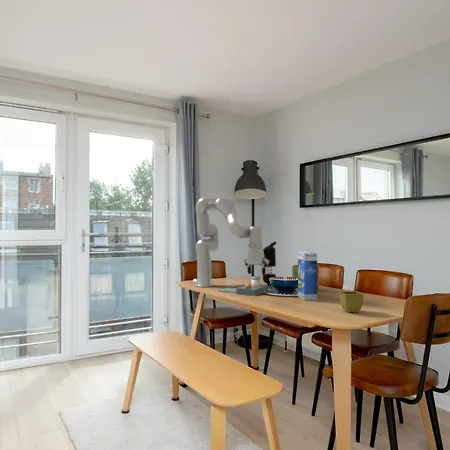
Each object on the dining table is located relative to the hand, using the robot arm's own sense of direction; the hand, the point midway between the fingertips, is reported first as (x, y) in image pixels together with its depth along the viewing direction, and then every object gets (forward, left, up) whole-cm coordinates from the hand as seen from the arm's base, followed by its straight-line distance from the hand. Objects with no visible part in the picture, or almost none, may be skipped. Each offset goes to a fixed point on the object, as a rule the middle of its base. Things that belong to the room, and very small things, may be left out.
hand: (256, 274), depth 236 cm
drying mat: (-16, -4, -11) cm, 20 cm away
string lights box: (+34, -5, -11) cm, 37 cm away
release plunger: (-1, -9, -10) cm, 14 cm away
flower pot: (+63, -27, -11) cm, 70 cm away
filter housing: (-1, -4, -11) cm, 12 cm away
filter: (-4, +24, -11) cm, 26 cm away
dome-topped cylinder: (-1, 0, -11) cm, 11 cm away
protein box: (+24, +20, -11) cm, 33 cm away
